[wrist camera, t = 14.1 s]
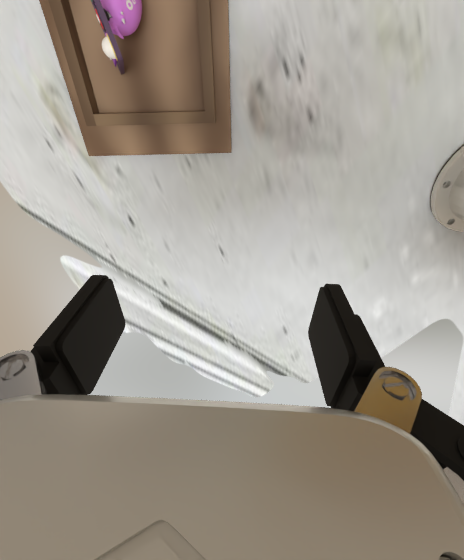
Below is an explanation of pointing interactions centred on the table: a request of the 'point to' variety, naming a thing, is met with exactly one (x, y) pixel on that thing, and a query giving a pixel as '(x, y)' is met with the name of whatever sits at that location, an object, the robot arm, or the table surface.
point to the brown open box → (148, 77)
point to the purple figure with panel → (117, 24)
